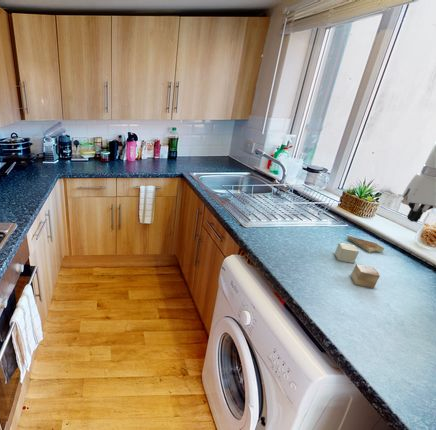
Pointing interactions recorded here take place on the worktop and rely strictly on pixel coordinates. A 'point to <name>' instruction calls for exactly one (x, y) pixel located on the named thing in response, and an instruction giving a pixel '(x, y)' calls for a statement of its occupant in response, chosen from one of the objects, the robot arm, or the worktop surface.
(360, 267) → the maple block
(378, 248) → the shard
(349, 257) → the cream block
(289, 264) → the worktop surface
